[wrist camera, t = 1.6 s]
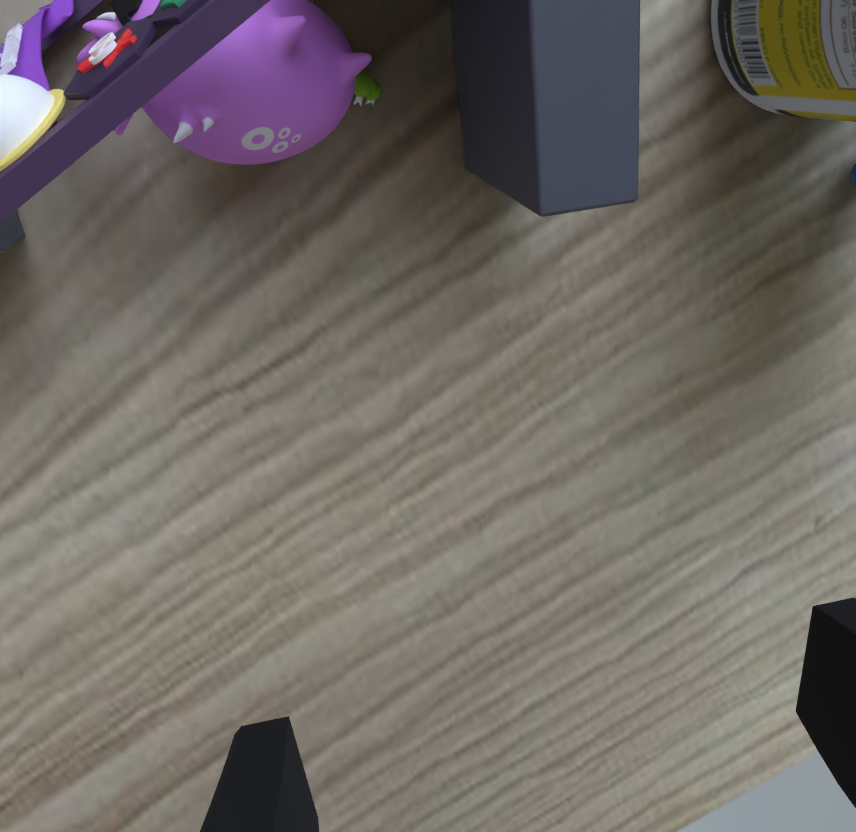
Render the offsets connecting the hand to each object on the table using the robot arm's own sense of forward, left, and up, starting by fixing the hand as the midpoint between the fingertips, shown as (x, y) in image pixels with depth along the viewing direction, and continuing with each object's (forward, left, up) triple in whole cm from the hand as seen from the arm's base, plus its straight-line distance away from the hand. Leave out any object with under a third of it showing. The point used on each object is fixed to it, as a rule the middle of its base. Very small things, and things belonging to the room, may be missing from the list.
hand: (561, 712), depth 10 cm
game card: (-2, +9, -10) cm, 14 cm away
